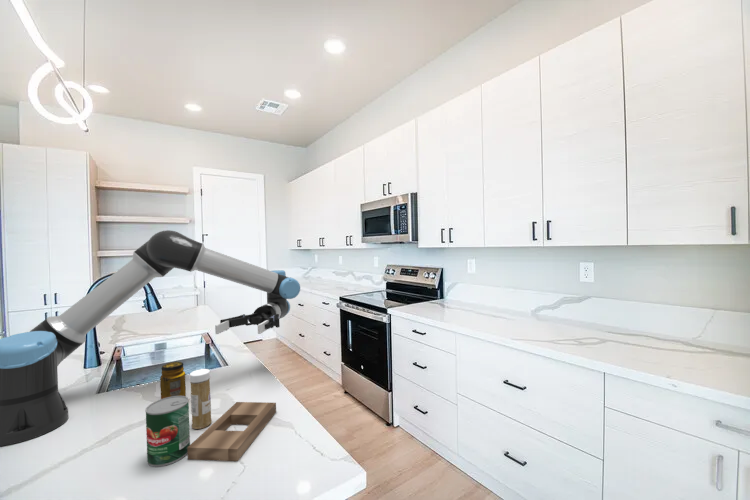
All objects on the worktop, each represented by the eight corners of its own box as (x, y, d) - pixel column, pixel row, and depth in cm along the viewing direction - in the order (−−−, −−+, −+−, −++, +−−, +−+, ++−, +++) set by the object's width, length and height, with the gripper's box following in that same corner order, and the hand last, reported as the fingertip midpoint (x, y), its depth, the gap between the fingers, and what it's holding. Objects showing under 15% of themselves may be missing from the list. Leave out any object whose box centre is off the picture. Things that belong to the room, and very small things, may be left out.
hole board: (187, 459, 68) (187, 447, 68) (237, 411, 88) (236, 401, 88) (237, 461, 67) (237, 449, 67) (276, 411, 87) (275, 402, 87)
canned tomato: (142, 471, 65) (140, 416, 65) (151, 449, 72) (149, 400, 72) (188, 460, 68) (186, 407, 68) (192, 440, 76) (190, 392, 75)
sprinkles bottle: (213, 425, 81) (211, 372, 81) (192, 432, 79) (190, 376, 79) (210, 418, 85) (208, 366, 85) (190, 423, 83) (188, 370, 82)
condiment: (190, 399, 96) (188, 358, 96) (184, 412, 89) (182, 368, 88) (161, 403, 94) (160, 362, 94) (152, 418, 86) (151, 373, 86)
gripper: (299, 324, 120) (277, 341, 99) (235, 325, 122) (199, 342, 101) (299, 304, 120) (276, 317, 99) (234, 305, 122) (198, 318, 101)
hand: (237, 329), depth 100 cm, fingers open, 13 cm apart
